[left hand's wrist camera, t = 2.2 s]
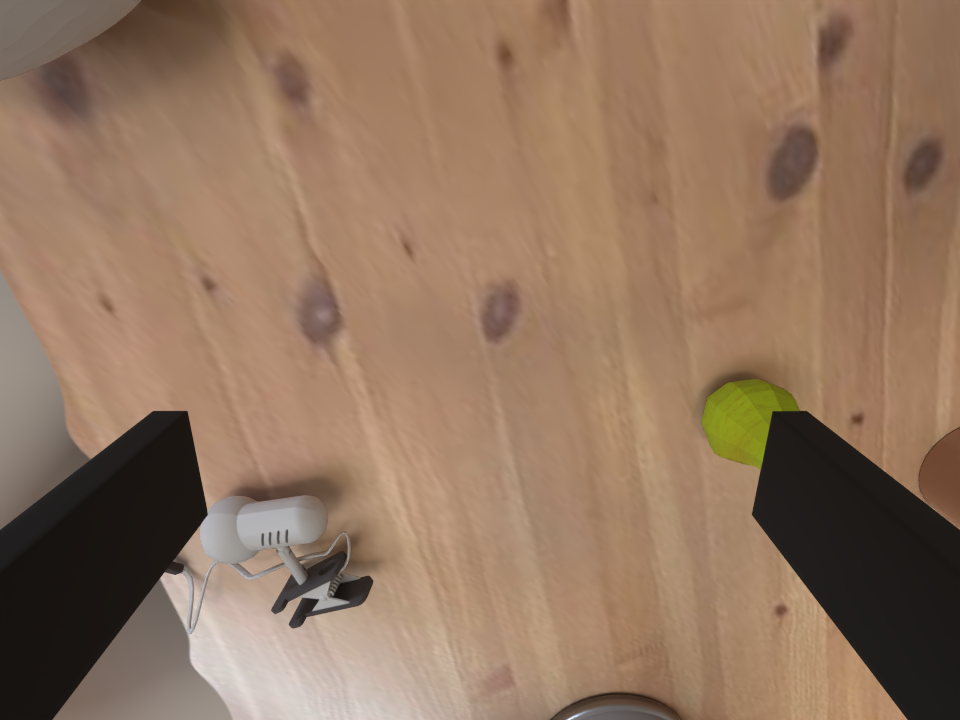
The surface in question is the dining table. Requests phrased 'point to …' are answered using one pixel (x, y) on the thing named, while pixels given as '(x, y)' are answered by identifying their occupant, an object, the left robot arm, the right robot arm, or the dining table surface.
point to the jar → (943, 477)
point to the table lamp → (51, 29)
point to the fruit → (743, 418)
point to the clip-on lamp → (278, 524)
